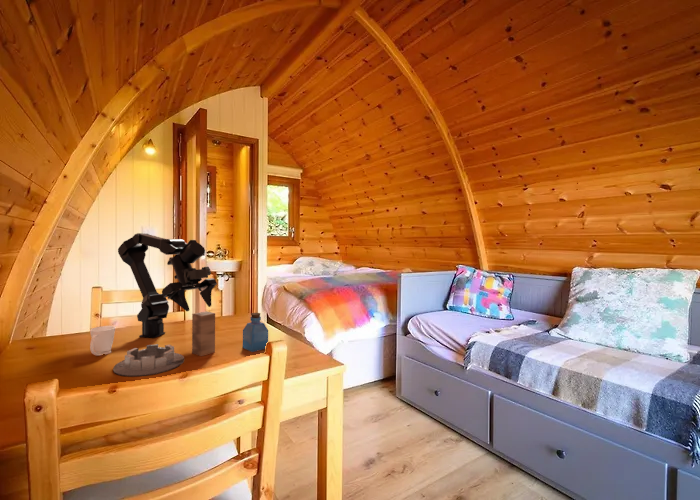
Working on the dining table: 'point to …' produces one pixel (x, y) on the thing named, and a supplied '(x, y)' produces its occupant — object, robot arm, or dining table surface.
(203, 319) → the walnut block
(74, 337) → the dining table surface
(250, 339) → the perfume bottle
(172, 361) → the castellated ring
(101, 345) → the cup
